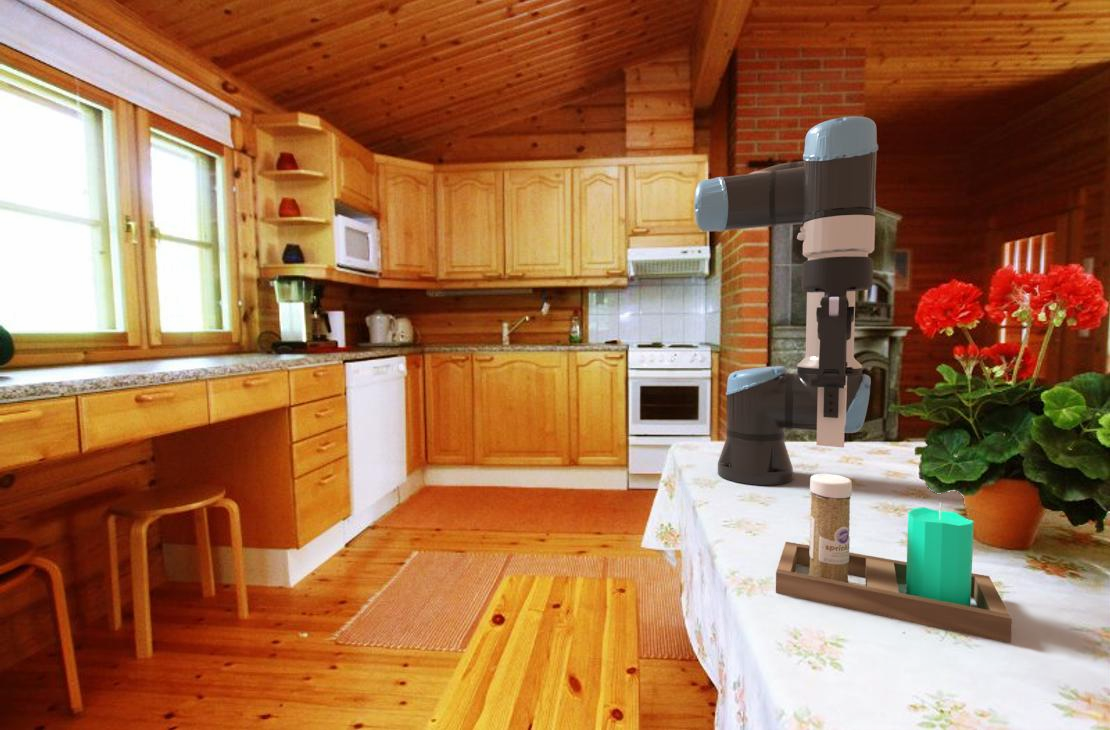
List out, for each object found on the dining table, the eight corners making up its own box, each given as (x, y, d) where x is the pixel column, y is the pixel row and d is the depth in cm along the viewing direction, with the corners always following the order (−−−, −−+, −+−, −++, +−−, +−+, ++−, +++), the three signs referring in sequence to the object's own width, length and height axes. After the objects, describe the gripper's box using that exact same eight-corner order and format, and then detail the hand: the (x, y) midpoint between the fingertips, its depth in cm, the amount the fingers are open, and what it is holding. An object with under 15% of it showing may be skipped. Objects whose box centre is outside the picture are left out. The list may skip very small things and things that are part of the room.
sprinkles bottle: (836, 596, 63) (839, 485, 63) (800, 581, 67) (802, 476, 66) (856, 586, 66) (859, 478, 65) (820, 572, 70) (823, 470, 69)
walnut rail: (785, 559, 74) (785, 541, 74) (988, 596, 63) (989, 576, 63) (775, 592, 65) (776, 572, 64) (1010, 642, 54) (1011, 618, 54)
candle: (973, 625, 57) (978, 515, 56) (906, 610, 60) (909, 505, 59) (966, 601, 62) (970, 499, 61) (904, 588, 65) (908, 491, 64)
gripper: (809, 268, 76) (806, 415, 78) (791, 248, 55) (787, 453, 56) (870, 264, 73) (866, 419, 74) (877, 242, 51) (870, 461, 53)
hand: (832, 434), depth 65 cm, fingers open, 13 cm apart
